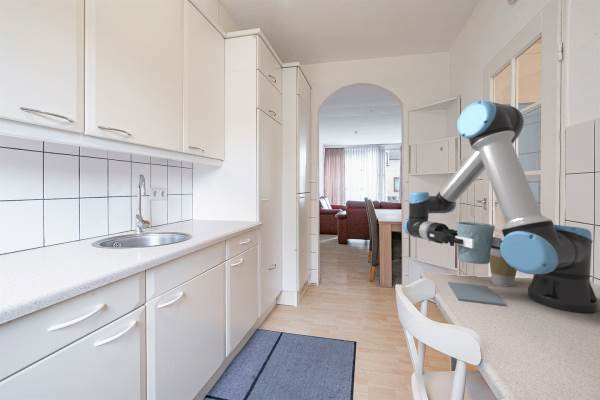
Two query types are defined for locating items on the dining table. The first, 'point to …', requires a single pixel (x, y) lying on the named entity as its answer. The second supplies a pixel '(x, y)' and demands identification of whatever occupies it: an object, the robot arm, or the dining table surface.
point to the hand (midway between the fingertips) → (486, 243)
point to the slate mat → (475, 293)
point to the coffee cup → (501, 268)
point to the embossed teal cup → (475, 242)
